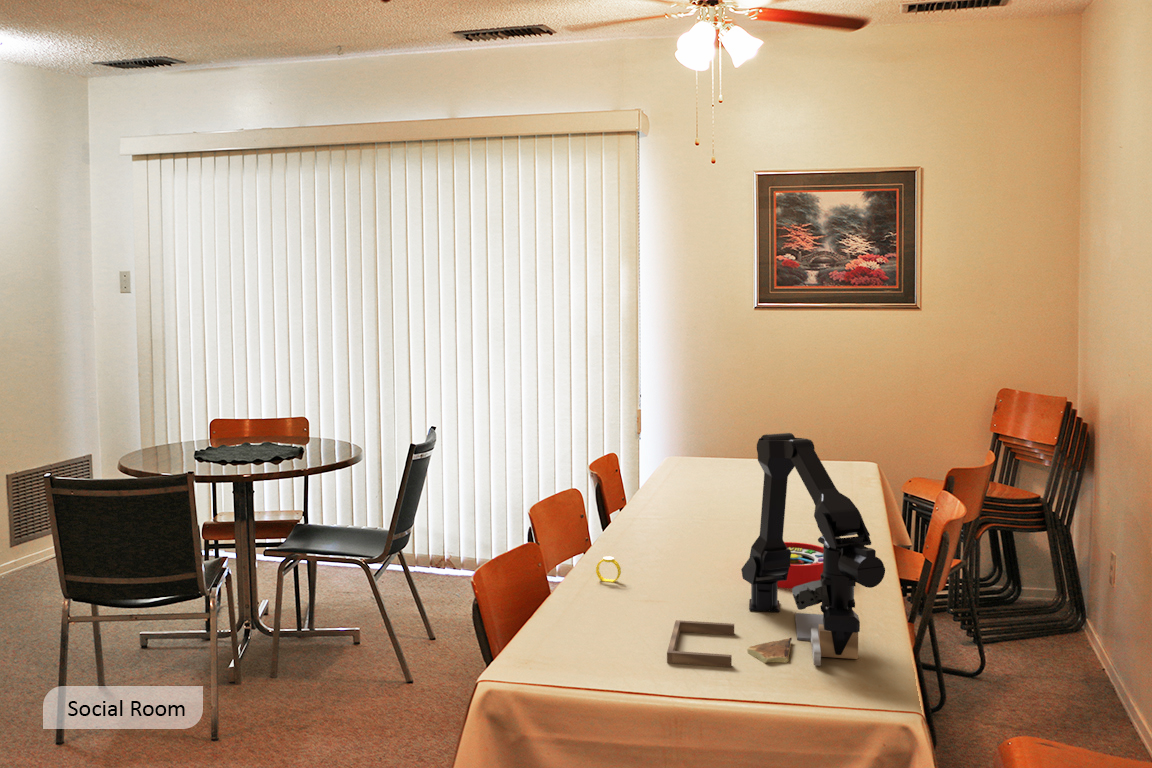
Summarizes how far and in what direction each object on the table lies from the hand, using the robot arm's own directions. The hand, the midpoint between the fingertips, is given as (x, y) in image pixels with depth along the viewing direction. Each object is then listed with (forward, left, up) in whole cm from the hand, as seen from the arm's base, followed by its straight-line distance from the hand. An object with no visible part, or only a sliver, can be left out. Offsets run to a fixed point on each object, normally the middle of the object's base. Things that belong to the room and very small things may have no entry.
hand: (837, 650), depth 172 cm
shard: (0, -13, -2) cm, 13 cm away
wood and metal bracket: (0, 0, -1) cm, 1 cm away
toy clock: (-48, -7, -2) cm, 49 cm away
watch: (-37, -51, -1) cm, 63 cm away
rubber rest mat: (-14, -2, -1) cm, 14 cm away
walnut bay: (0, -26, -1) cm, 26 cm away
